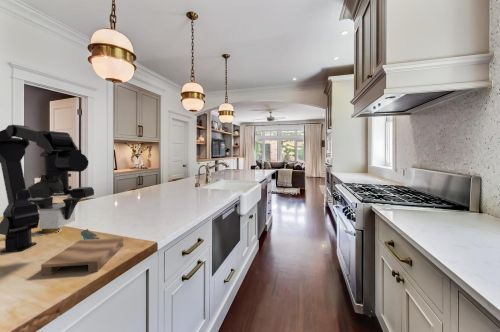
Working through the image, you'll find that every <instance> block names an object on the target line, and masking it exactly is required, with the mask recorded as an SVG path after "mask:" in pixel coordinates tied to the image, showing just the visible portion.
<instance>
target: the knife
mask: <svg viewBox="0 0 500 332" xmlns="http://www.w3.org/2000/svg"><path fill="white" fill-rule="evenodd" d="M80 232H81V234H80V236H81V237H82V236H83V238H82V240H87V239H101V238H99V236H97V235H96V233H93V232H91V231H90V230H89V228H87V229H84V230H81V231H80Z"/></svg>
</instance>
